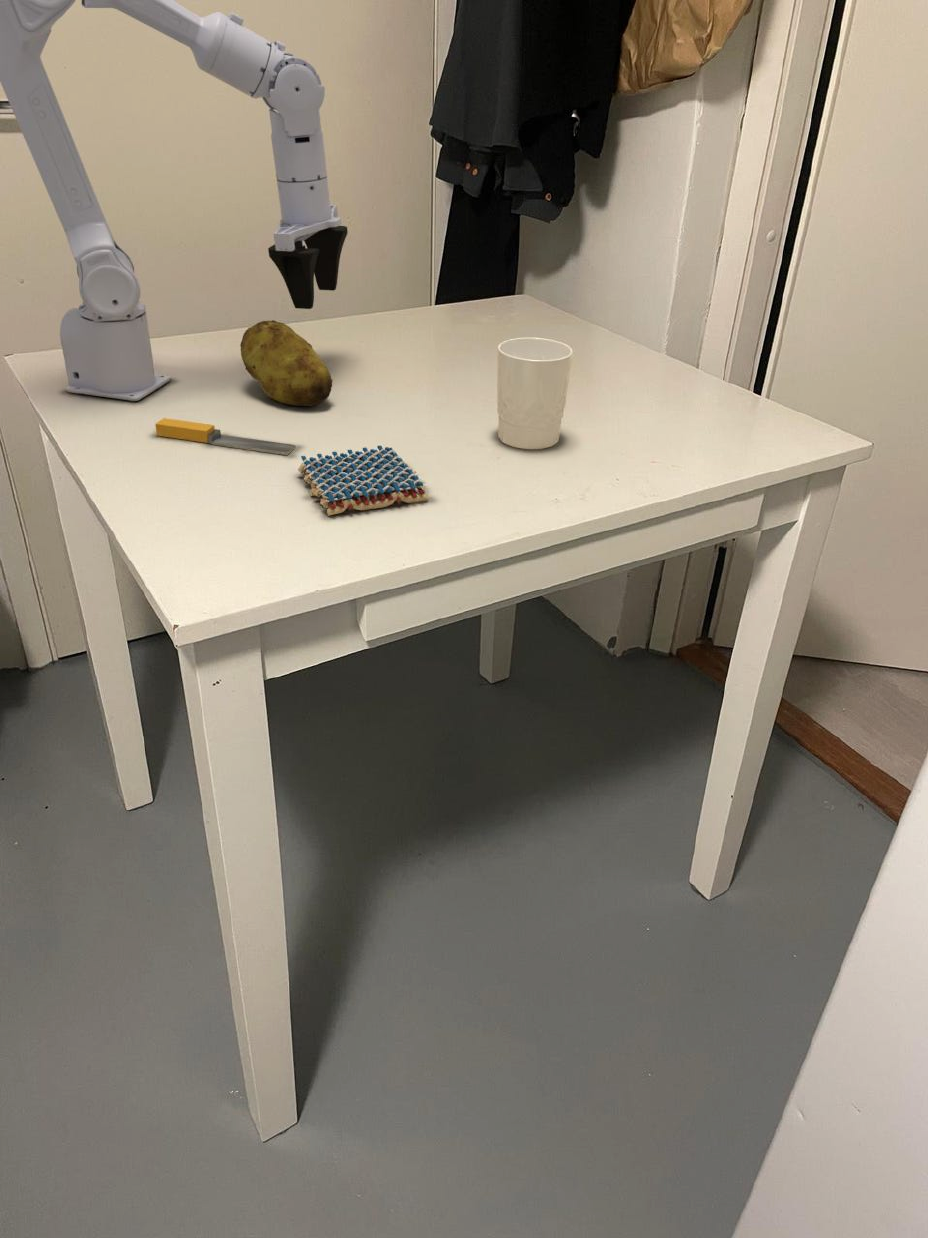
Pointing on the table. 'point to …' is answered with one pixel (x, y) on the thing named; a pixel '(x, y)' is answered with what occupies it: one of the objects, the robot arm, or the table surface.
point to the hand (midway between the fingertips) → (316, 298)
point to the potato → (285, 364)
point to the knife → (216, 436)
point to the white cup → (532, 391)
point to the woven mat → (362, 480)
